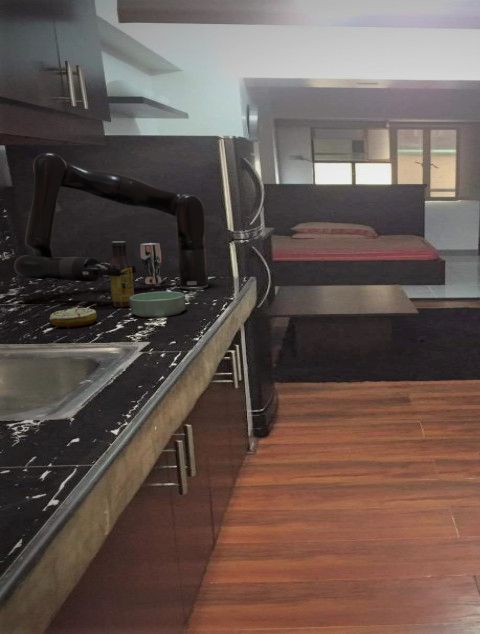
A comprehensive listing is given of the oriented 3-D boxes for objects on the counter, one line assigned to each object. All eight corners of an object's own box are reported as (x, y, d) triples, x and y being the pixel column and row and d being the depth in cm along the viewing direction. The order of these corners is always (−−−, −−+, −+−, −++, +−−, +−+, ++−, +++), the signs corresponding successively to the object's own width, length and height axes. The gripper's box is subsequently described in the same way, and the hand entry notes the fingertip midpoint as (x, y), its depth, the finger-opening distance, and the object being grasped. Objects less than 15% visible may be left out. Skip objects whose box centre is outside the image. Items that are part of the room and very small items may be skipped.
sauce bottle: (126, 308, 181) (119, 243, 177) (108, 307, 182) (100, 242, 178) (140, 304, 187) (134, 240, 183) (122, 303, 189) (116, 240, 184)
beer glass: (158, 285, 222) (155, 244, 219) (139, 285, 222) (136, 244, 219) (166, 282, 229) (163, 243, 226) (148, 282, 229) (145, 242, 226)
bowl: (152, 306, 185) (150, 290, 184) (195, 308, 182) (194, 292, 181) (119, 316, 171) (117, 299, 169) (166, 319, 168) (165, 301, 167)
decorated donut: (66, 319, 167) (64, 306, 166) (104, 319, 166) (103, 306, 166) (42, 328, 156) (40, 314, 156) (83, 328, 156) (82, 314, 156)
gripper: (60, 259, 177) (110, 261, 174) (95, 254, 191) (141, 256, 188) (63, 284, 179) (113, 287, 176) (97, 277, 193) (144, 279, 190)
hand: (127, 271), depth 182 cm, fingers closed on sauce bottle, 6 cm apart
